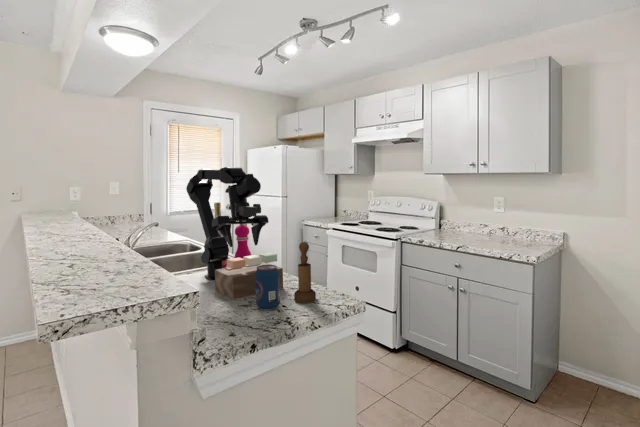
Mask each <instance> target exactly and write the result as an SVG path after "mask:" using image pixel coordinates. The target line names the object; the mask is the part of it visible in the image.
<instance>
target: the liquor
mask: <svg viewBox="0 0 640 427" xmlns="http://www.w3.org/2000/svg"><path fill="white" fill-rule="evenodd" d="M213 207H214V208H213V209H214V219H215V218H216V217H218V216H222V213H221V208H222V207H221V202H220V201H218V202H213ZM218 233H219V235H220V236H221V237H224V236H223V235H222V234H221V232H220V231H219V230H218ZM222 263H223V268H226V267H227V260H225V261H222Z"/></svg>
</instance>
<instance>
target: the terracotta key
mask: <svg viewBox="0 0 640 427" xmlns="http://www.w3.org/2000/svg"><path fill="white" fill-rule="evenodd" d="M226 267H229V268H232V269H236V268H242V267H246V265H245V259H242V258H235V257H233V258H228V259H227V266H226Z"/></svg>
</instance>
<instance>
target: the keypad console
mask: <svg viewBox="0 0 640 427" xmlns="http://www.w3.org/2000/svg"><path fill="white" fill-rule="evenodd" d="M245 265H246V264H245ZM261 265H272V263H264V262H262V264H258V265H253V266H249V265H246V267H242V268H236V269H232V268H229V267H227V266H226V267H225V268H222V269H216V270H215V279H214V282H215V285H214V286H215V291H217V292H219V293H221V294H223V295H224V296H226V297H228V298H230V299H231V300H239V299H244V298H248V297H252V296H256V289H255V272H256V270H257V267H258V266H261ZM277 270H278V271H279V290H281V288H282V289H284V268H283V267H281V266H277Z"/></svg>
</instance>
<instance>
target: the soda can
mask: <svg viewBox="0 0 640 427" xmlns="http://www.w3.org/2000/svg"><path fill="white" fill-rule="evenodd" d="M277 267H278V265H276V264H271V265H261V266H258V267H257V270H256V272H255V289H256V295H255V304H256V307H257V308H258V309H259V310H261V311H273V310H276V309H278V307H279V305H280V303H281V302H280V300H281V297H280V296H281V294H280V293H281V292H280V290H281V289H279V271H278V270H277Z"/></svg>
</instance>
